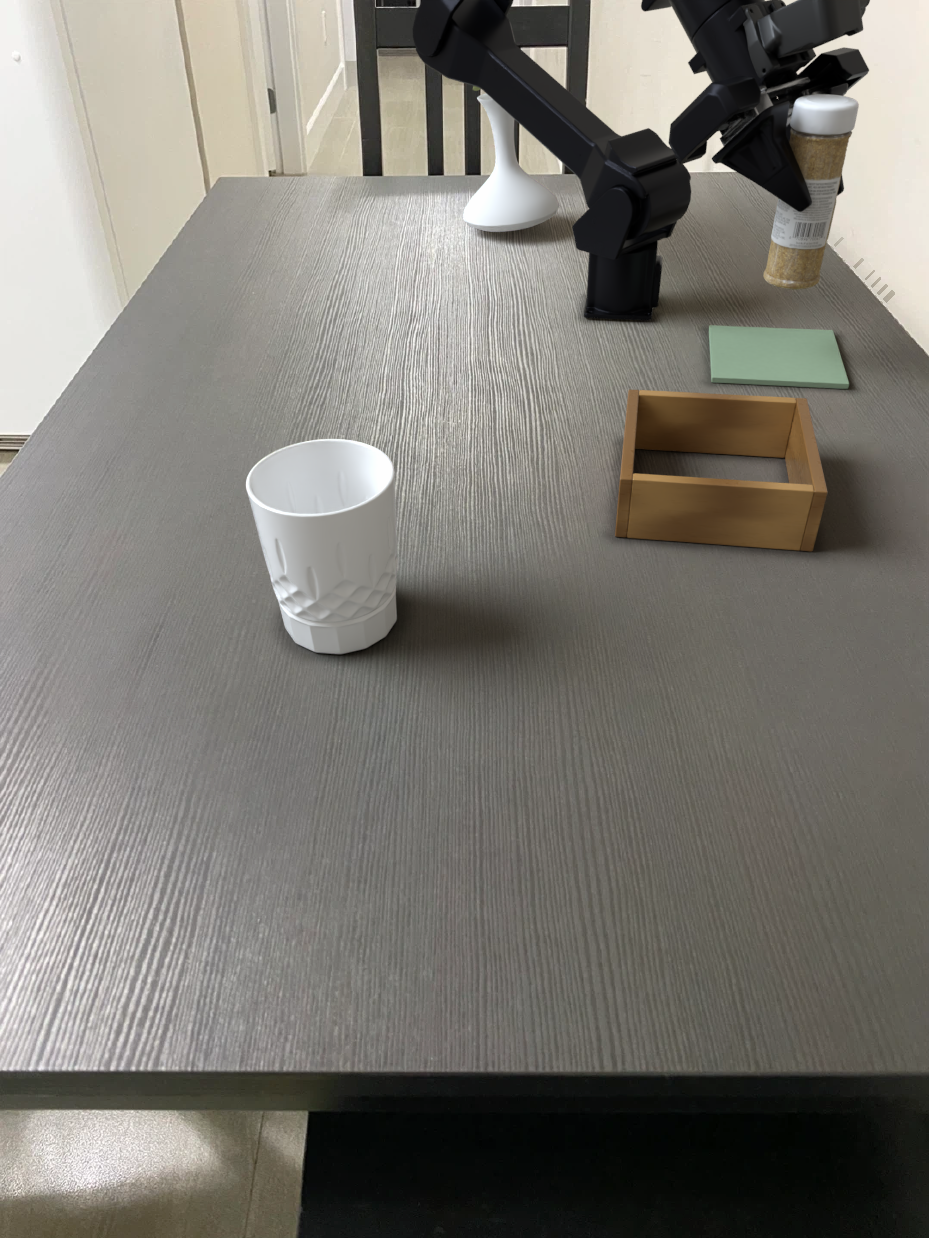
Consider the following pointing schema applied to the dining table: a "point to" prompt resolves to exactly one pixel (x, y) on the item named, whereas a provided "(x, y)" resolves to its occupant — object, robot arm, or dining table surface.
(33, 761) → the dining table surface
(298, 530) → the white cup
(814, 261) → the sprinkles bottle
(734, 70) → the robot arm
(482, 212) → the flower in vase
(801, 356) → the mat
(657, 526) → the wooden box
